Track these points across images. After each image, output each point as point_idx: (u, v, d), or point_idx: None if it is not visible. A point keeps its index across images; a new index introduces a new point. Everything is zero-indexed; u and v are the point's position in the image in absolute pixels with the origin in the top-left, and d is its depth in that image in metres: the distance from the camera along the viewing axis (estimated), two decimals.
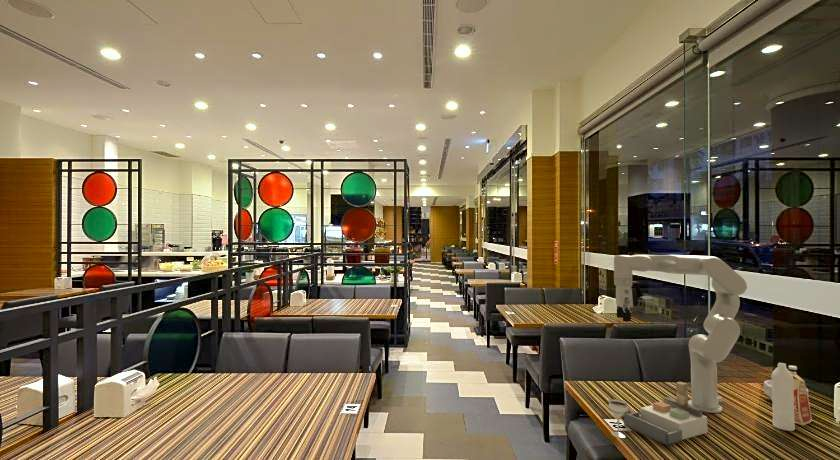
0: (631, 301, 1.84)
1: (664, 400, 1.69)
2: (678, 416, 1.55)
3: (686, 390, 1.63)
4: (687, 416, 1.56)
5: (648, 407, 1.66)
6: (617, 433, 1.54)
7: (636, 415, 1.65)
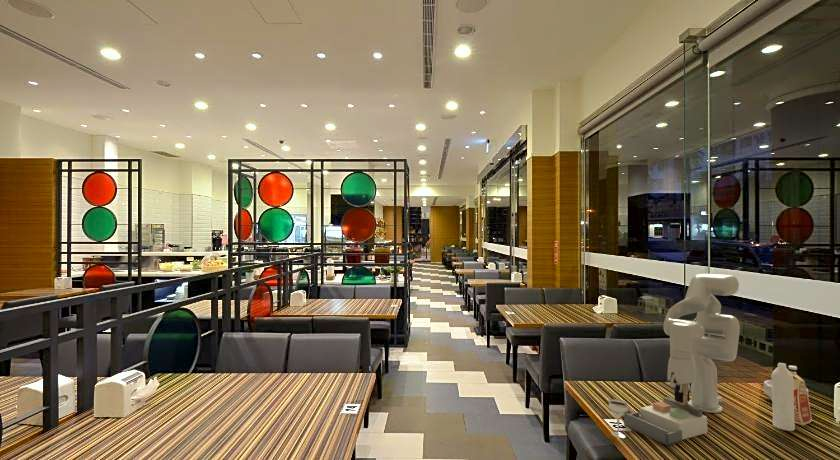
0: None
1: (664, 400, 1.69)
2: (678, 416, 1.55)
3: (686, 390, 1.63)
4: (687, 416, 1.56)
5: (648, 407, 1.66)
6: (617, 433, 1.54)
7: (636, 415, 1.65)
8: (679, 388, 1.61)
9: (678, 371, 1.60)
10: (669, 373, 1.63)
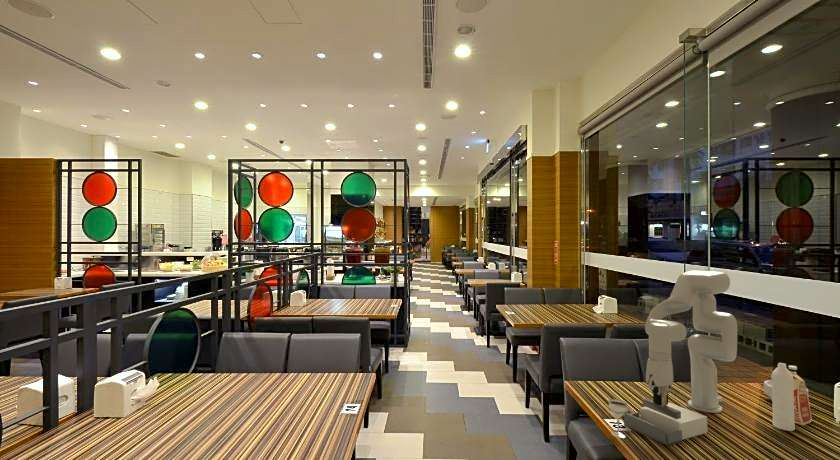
0: None
1: (643, 401, 1.64)
2: None
3: (665, 391, 1.58)
4: None
5: None
6: (617, 433, 1.54)
7: (636, 415, 1.65)
8: (657, 390, 1.57)
9: (656, 373, 1.55)
10: (647, 375, 1.58)
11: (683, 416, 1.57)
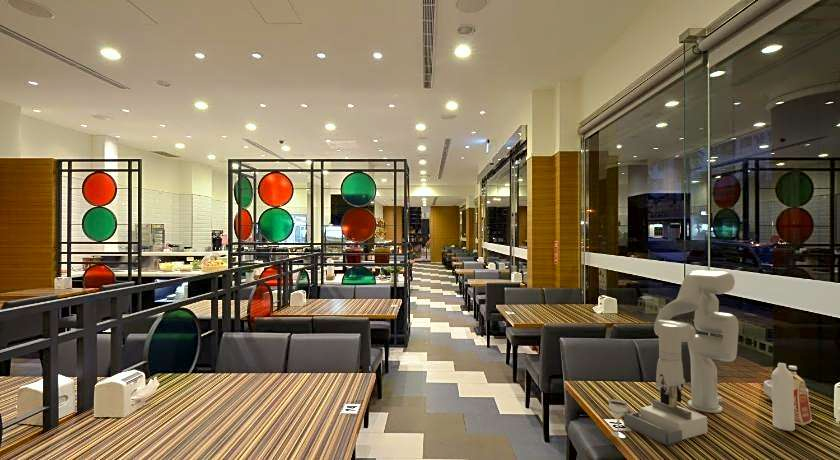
0: None
1: (653, 402, 1.66)
2: None
3: (675, 392, 1.60)
4: None
5: (648, 407, 1.66)
6: (617, 433, 1.54)
7: (636, 415, 1.65)
8: (665, 390, 1.58)
9: (667, 373, 1.58)
10: (658, 375, 1.61)
11: None
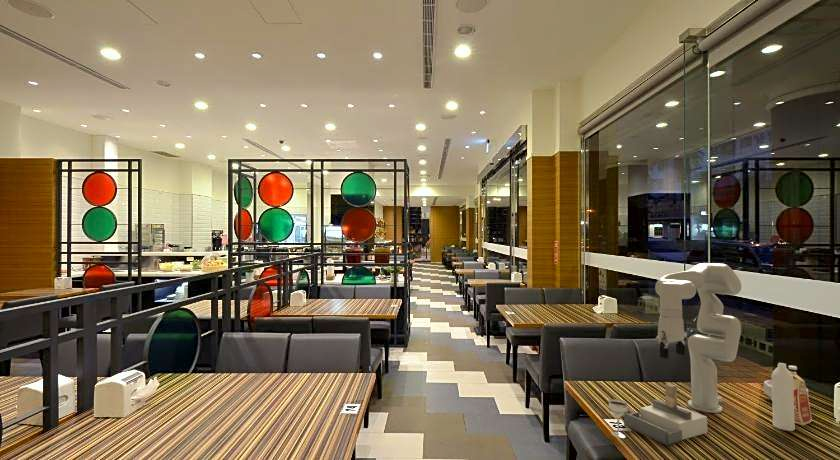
0: None
1: (653, 402, 1.66)
2: None
3: (675, 392, 1.60)
4: None
5: (648, 407, 1.66)
6: (617, 433, 1.54)
7: (636, 415, 1.65)
8: None
9: (668, 329, 1.61)
10: (659, 332, 1.63)
11: None
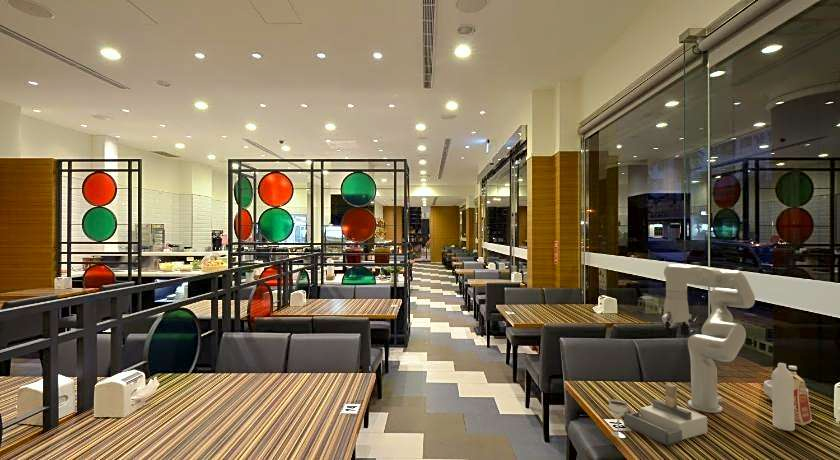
0: None
1: (653, 402, 1.66)
2: None
3: (675, 392, 1.60)
4: None
5: (648, 407, 1.66)
6: (617, 433, 1.54)
7: (636, 415, 1.65)
8: (669, 324, 1.69)
9: (673, 310, 1.69)
10: (665, 313, 1.72)
11: None
